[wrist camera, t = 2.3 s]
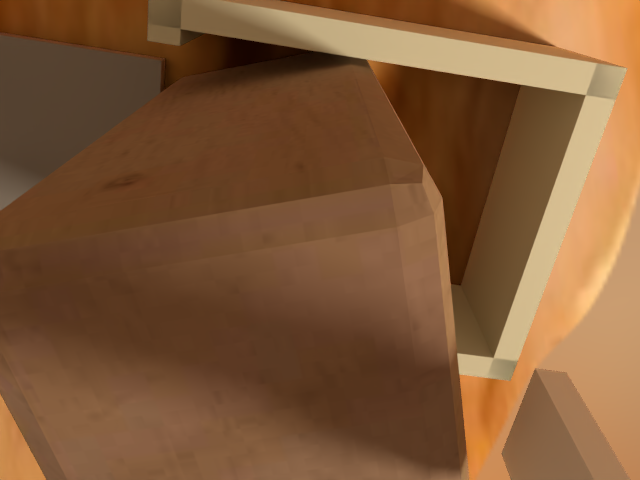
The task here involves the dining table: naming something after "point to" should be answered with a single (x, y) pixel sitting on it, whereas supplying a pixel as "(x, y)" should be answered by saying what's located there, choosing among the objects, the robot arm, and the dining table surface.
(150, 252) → the wooden block
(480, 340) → the crate
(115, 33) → the dining table surface
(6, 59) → the trivet
